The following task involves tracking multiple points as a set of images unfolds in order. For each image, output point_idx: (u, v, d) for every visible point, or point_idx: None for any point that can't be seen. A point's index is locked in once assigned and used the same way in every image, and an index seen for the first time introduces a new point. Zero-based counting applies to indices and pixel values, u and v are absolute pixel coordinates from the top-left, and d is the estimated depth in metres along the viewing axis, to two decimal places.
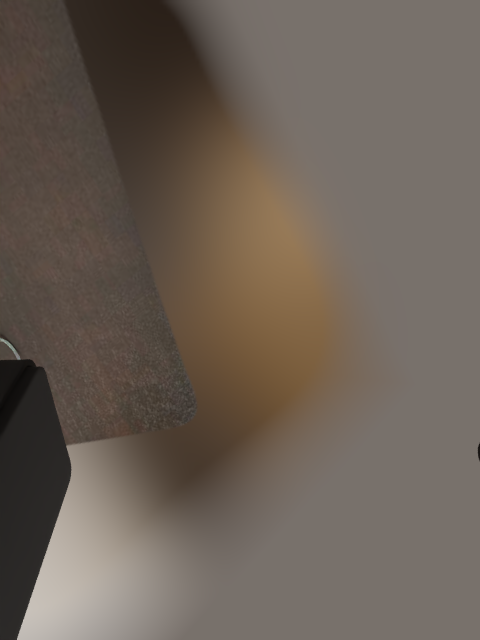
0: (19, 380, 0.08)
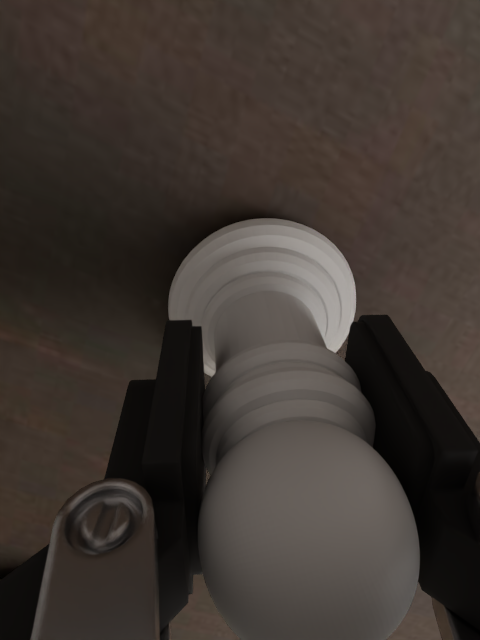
0: (192, 335, 0.09)
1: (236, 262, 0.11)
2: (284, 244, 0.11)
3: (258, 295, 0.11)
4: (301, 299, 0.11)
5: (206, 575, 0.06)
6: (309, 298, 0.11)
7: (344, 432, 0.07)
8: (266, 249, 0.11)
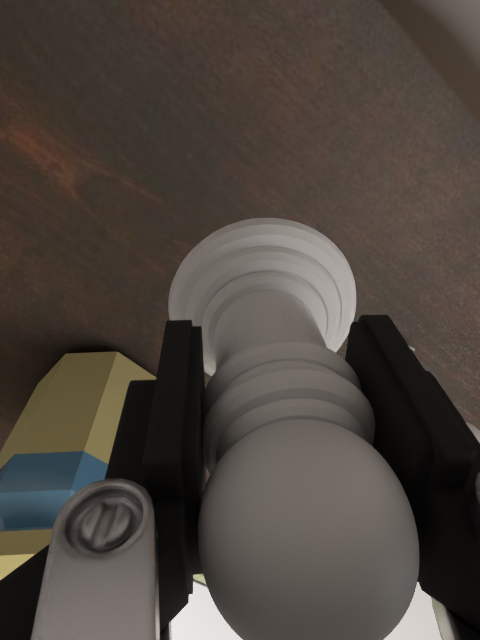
0: (192, 335, 0.09)
1: (236, 261, 0.11)
2: (284, 243, 0.11)
3: (259, 295, 0.11)
4: (301, 299, 0.11)
5: (206, 573, 0.06)
6: (309, 297, 0.11)
7: (344, 431, 0.07)
8: (266, 248, 0.11)
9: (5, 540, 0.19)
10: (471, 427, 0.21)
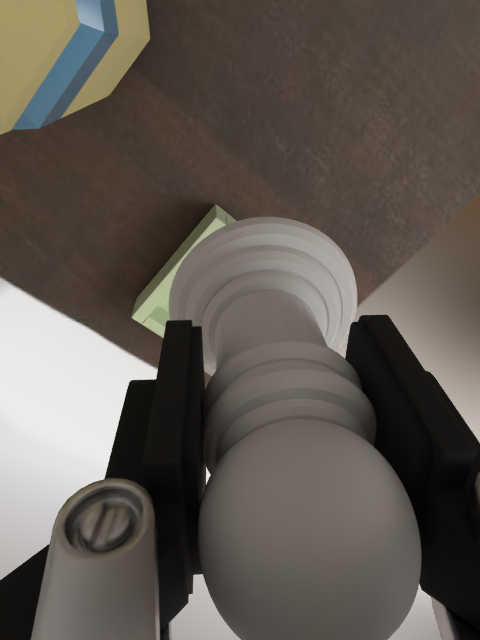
0: (192, 335, 0.09)
1: (237, 261, 0.11)
2: (285, 243, 0.11)
3: (259, 294, 0.11)
4: (302, 298, 0.11)
5: (206, 574, 0.06)
6: (310, 297, 0.11)
7: (345, 431, 0.07)
8: (267, 247, 0.11)
9: None
10: None
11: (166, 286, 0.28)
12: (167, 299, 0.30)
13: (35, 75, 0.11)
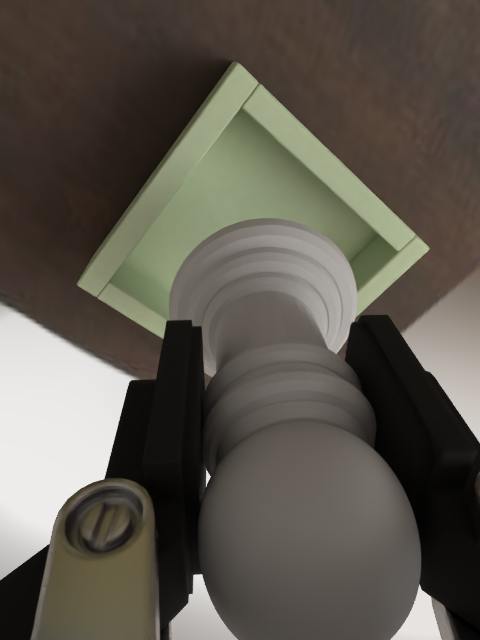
0: (192, 335, 0.09)
1: (237, 262, 0.11)
2: (285, 244, 0.11)
3: (259, 296, 0.11)
4: (302, 299, 0.11)
5: (206, 577, 0.06)
6: (310, 298, 0.11)
7: (345, 433, 0.07)
8: (267, 248, 0.11)
9: None
10: None
11: (140, 221, 0.14)
12: (146, 255, 0.17)
13: None
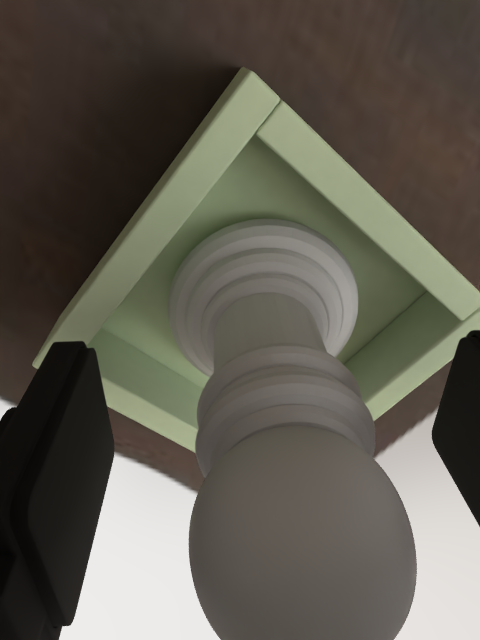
0: (76, 359, 0.08)
1: (236, 263, 0.11)
2: (285, 245, 0.11)
3: (258, 297, 0.11)
4: (302, 302, 0.11)
5: (196, 584, 0.06)
6: (310, 300, 0.11)
7: (340, 439, 0.07)
8: (266, 250, 0.11)
9: None
10: None
11: (114, 286, 0.10)
12: (128, 317, 0.13)
13: None
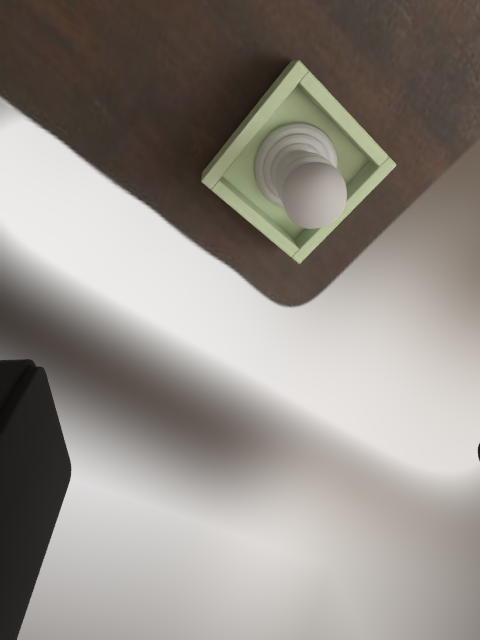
0: (19, 380, 0.08)
1: (287, 138, 0.27)
2: (307, 132, 0.27)
3: (296, 150, 0.27)
4: None
5: (286, 196, 0.22)
6: (316, 154, 0.27)
7: None
8: (299, 133, 0.27)
9: None
10: None
11: (241, 144, 0.27)
12: (234, 171, 0.29)
13: None
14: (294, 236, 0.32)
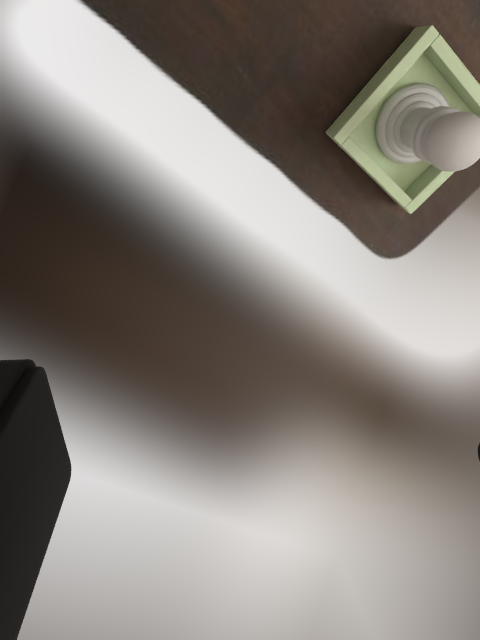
0: (19, 380, 0.08)
1: (411, 97, 0.30)
2: (428, 91, 0.31)
3: (420, 108, 0.30)
4: None
5: (435, 141, 0.26)
6: None
7: None
8: (421, 93, 0.30)
9: None
10: None
11: (372, 102, 0.30)
12: (356, 130, 0.33)
13: None
14: (402, 190, 0.35)
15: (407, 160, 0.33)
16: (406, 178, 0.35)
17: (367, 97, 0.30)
